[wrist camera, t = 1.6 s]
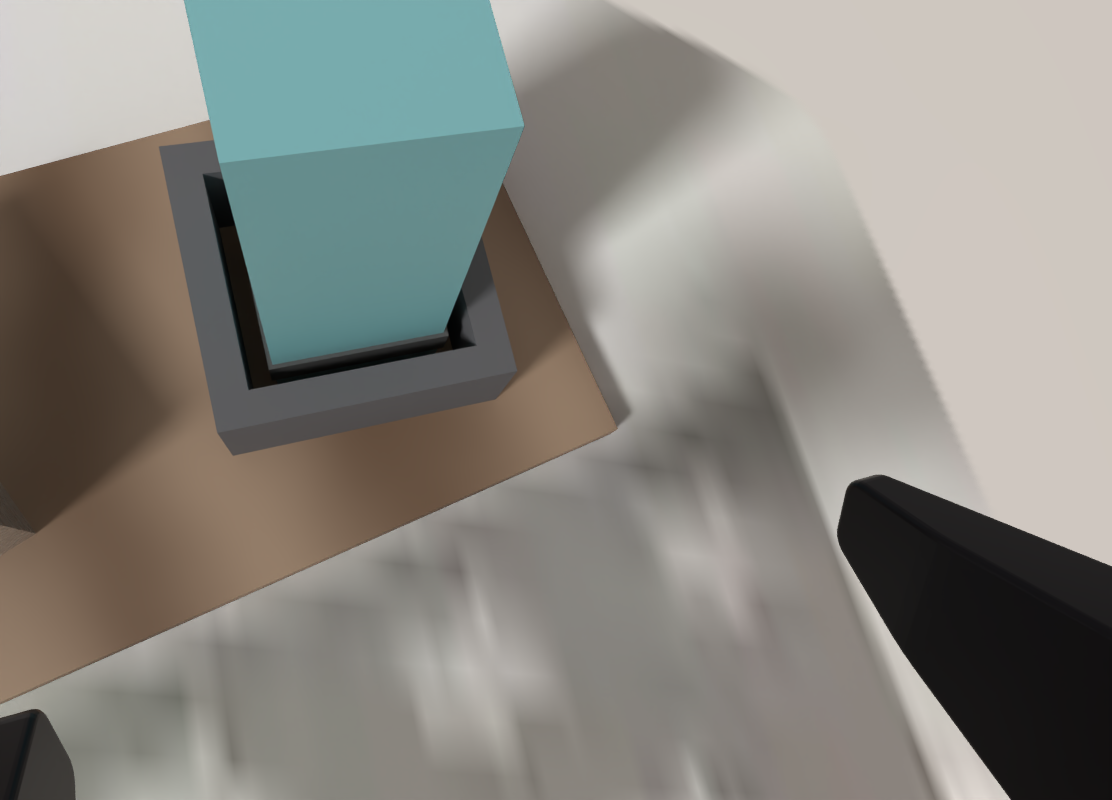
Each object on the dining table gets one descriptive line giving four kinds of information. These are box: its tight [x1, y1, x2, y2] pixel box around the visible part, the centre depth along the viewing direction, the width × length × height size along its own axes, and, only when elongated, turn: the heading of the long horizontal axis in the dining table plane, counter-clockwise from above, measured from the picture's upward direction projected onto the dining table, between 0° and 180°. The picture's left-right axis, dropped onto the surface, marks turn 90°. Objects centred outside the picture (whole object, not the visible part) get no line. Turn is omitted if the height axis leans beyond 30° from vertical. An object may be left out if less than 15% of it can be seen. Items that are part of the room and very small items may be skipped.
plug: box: [184, 0, 524, 384], centre depth 17 cm, size 4×4×12 cm
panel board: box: [0, 120, 618, 704], centre depth 21 cm, size 24×12×1 cm, turn 116°
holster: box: [159, 140, 517, 456], centre depth 22 cm, size 7×7×3 cm
